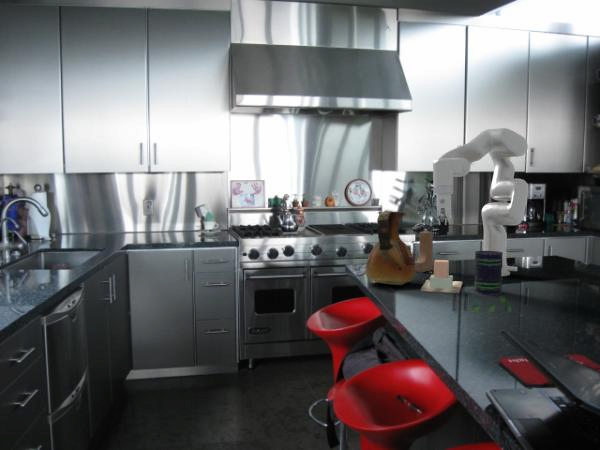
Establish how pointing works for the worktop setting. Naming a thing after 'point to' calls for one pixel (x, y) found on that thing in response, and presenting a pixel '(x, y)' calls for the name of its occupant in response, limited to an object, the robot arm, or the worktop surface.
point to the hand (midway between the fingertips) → (443, 233)
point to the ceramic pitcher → (390, 253)
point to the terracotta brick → (441, 268)
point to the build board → (455, 288)
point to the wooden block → (425, 253)
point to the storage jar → (488, 272)
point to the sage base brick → (441, 282)
